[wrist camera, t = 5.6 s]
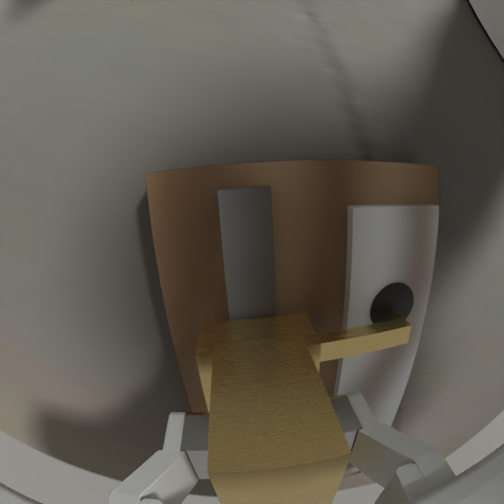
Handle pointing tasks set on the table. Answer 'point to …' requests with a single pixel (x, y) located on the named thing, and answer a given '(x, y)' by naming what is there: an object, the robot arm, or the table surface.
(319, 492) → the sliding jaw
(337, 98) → the table surface
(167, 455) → the robot arm
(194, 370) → the board
